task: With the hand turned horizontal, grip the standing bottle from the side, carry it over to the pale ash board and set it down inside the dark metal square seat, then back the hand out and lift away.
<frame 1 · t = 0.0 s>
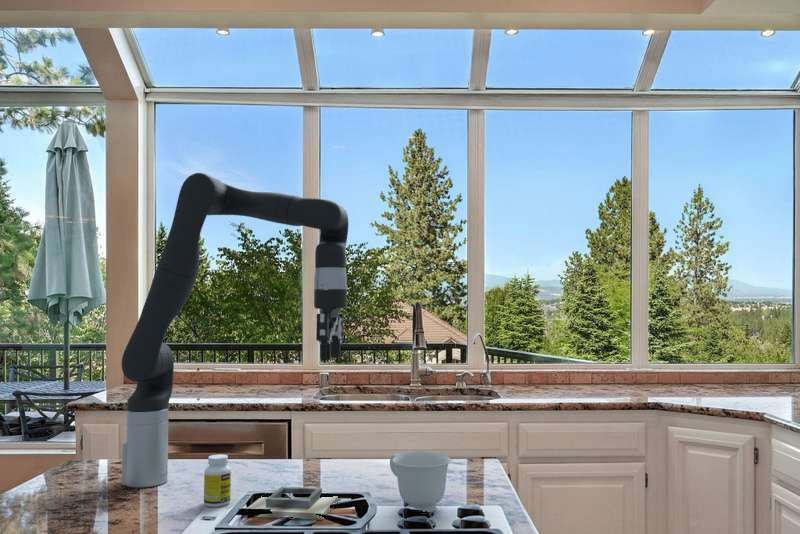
hand: (330, 358, 144), 29 cm above the worktop, tool pointing down, fingers open, 8 cm apart
teacup: (417, 508, 129), on the worktop
supplement bottle: (217, 504, 133), on the worktop
seat board: (294, 506, 130), on the worktop
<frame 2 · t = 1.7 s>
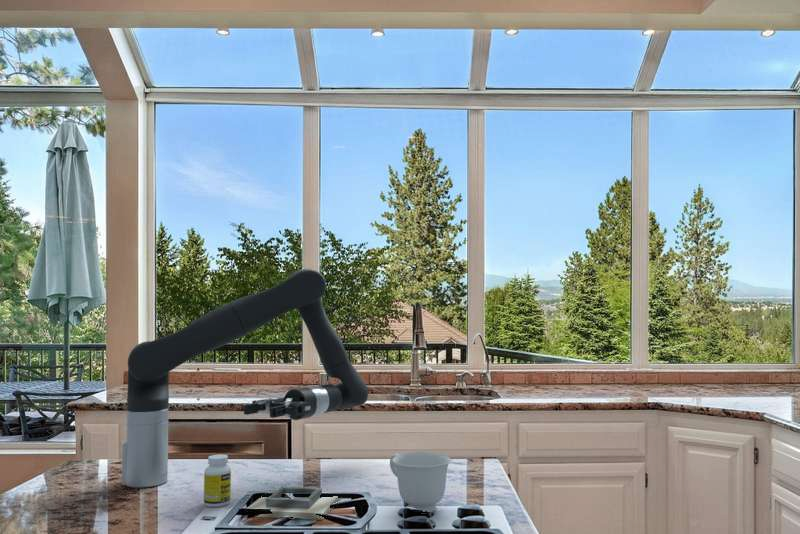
hand: (257, 411, 143), 18 cm above the worktop, tool horizontal, fingers open, 8 cm apart
nothing on the worktop moved.
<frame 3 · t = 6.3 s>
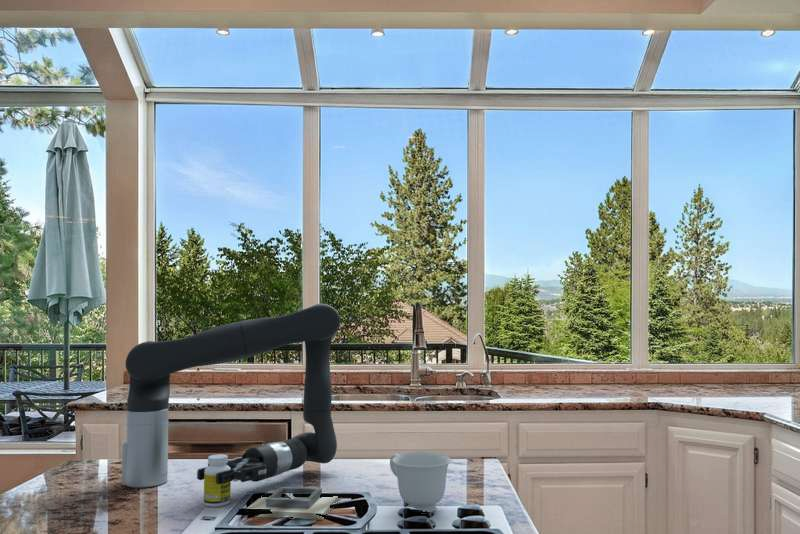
hand: (207, 476, 131), 6 cm above the worktop, tool horizontal, fingers closed on supplement bottle, 5 cm apart
supplement bottle: (217, 504, 133), on the worktop, touching gripper
everything else where it was.
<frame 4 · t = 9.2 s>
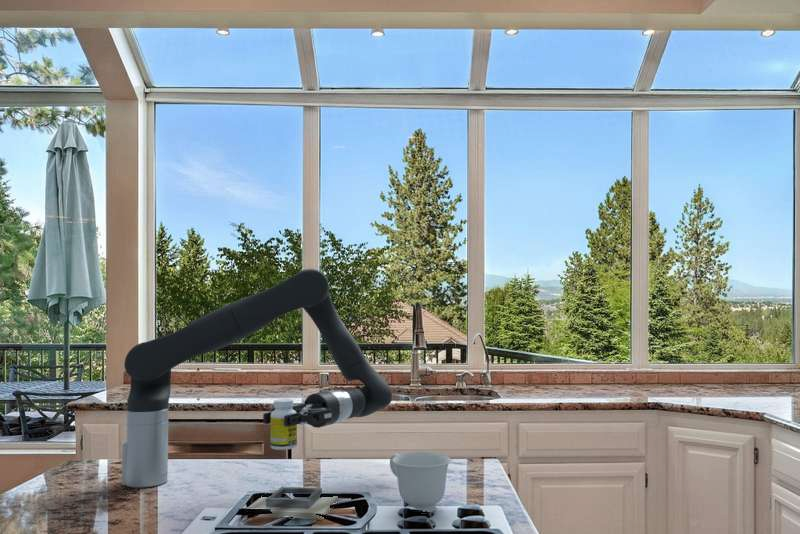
hand: (275, 420, 130), 18 cm above the worktop, tool horizontal, fingers closed on supplement bottle, 5 cm apart
supplement bottle: (284, 448, 132), point 12 cm above the worktop, touching gripper
everything else where it was.
when the fingers open (8 cm above the worktop, at t = 12.2 s): supplement bottle stays where it is, resting on seat board.
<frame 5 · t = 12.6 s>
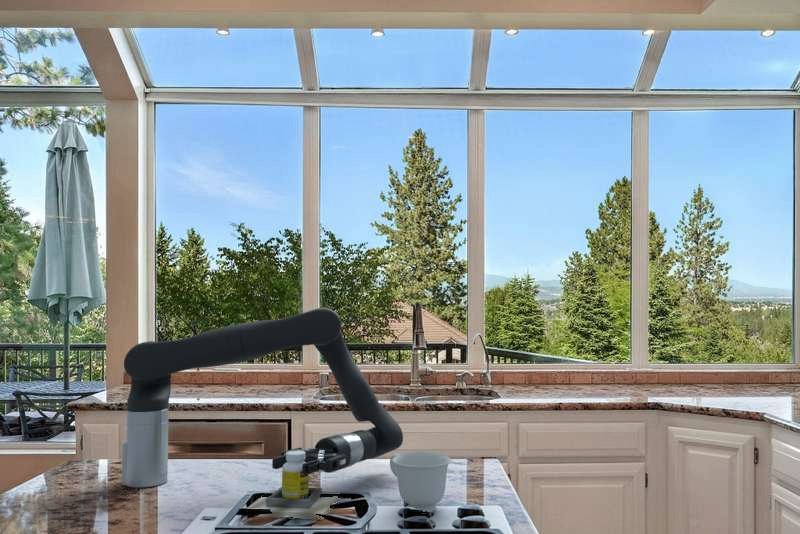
hand: (288, 466, 129), 8 cm above the worktop, tool horizontal, fingers open, 8 cm apart
supplement bottle: (295, 501, 130), point 1 cm above the worktop, touching seat board
everything else where it was.
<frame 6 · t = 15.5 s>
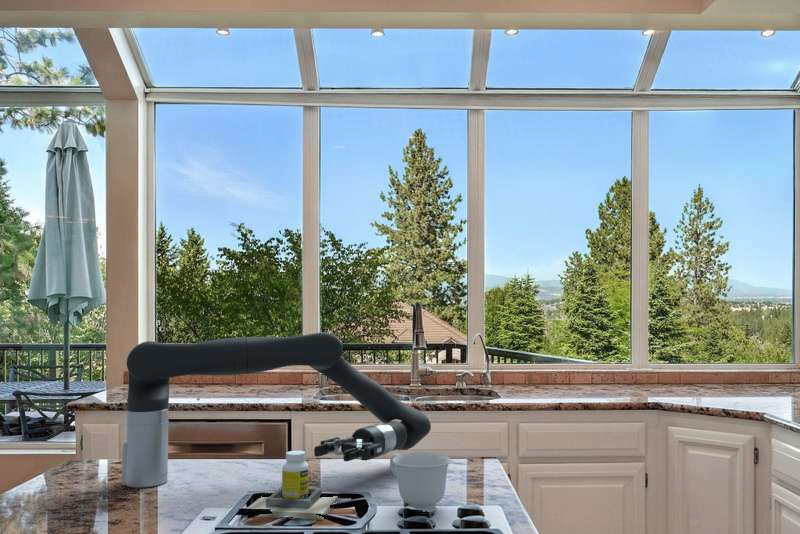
hand: (329, 454, 140), 9 cm above the worktop, tool horizontal, fingers open, 8 cm apart
nothing on the worktop moved.
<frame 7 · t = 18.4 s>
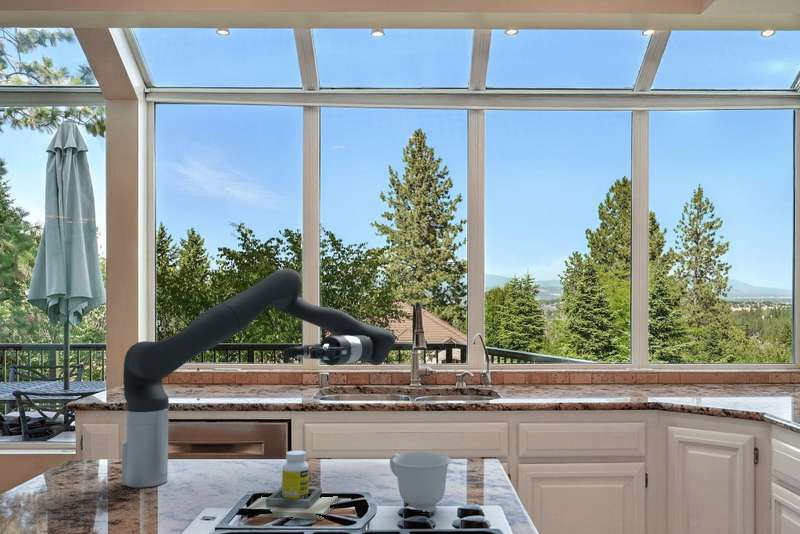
hand: (298, 353, 152), 30 cm above the worktop, tool horizontal, fingers open, 8 cm apart
nothing on the worktop moved.
at the end: supplement bottle 0.1 cm off-centre on the seat board, point 1.0 cm above the seat board's base; supplement bottle tilted 0°; the gripper is holding nothing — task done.
